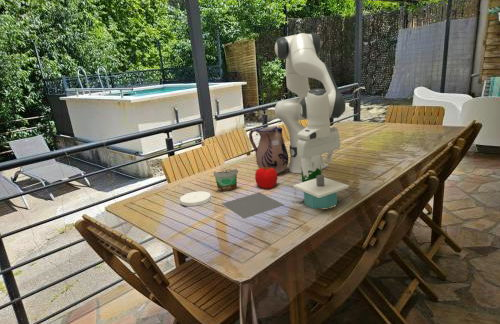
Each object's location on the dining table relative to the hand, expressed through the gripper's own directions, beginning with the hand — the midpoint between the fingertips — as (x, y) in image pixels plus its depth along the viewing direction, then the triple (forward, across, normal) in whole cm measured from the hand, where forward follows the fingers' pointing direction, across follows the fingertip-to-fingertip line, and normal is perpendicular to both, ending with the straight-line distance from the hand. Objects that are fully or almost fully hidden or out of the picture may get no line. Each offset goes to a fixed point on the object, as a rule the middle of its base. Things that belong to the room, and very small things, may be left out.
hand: (319, 164), depth 141 cm
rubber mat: (+17, +23, -18) cm, 34 cm away
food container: (+18, +22, -42) cm, 50 cm away
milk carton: (+18, -10, -16) cm, 26 cm away
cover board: (+10, 0, 0) cm, 10 cm away
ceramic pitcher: (+18, -9, -50) cm, 54 cm away
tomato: (+18, +5, -33) cm, 38 cm away
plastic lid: (+18, +41, -40) cm, 60 cm away
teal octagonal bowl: (+17, 0, 0) cm, 17 cm away
